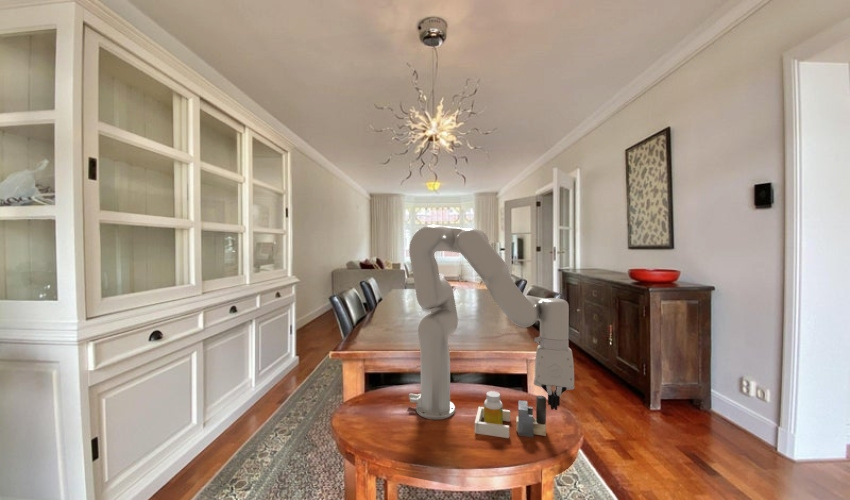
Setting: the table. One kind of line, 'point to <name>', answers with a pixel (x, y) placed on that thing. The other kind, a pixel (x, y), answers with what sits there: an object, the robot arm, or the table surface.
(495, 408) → the supplement bottle
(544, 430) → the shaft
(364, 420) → the table surface
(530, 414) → the guide block
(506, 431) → the frame
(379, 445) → the table surface
